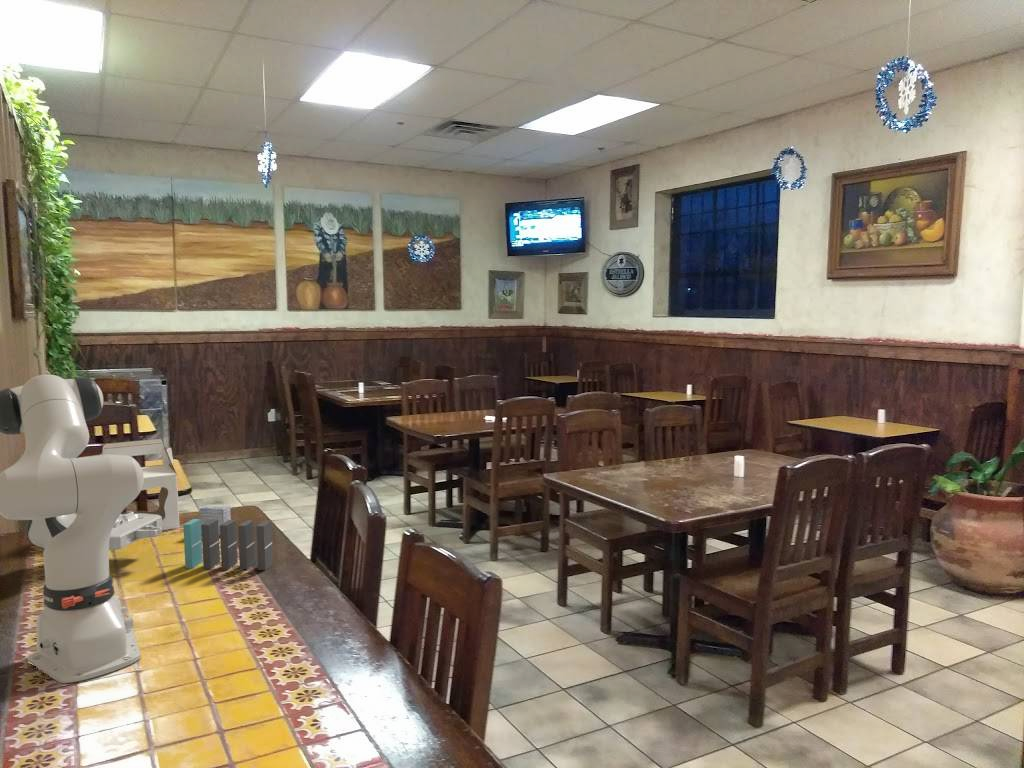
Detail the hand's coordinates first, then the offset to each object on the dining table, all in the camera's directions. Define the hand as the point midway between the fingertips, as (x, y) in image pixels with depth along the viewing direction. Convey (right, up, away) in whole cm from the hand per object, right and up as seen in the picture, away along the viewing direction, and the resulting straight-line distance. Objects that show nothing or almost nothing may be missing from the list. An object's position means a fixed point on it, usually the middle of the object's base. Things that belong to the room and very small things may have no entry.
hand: (158, 532), depth 192 cm
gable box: (-23, -6, +33) cm, 40 cm away
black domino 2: (+19, -9, -1) cm, 21 cm away
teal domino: (+9, -9, 0) cm, 13 cm away
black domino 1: (+14, -9, 0) cm, 17 cm away
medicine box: (+4, -6, +27) cm, 28 cm away
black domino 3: (+24, -9, -1) cm, 26 cm away
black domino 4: (+29, -9, -2) cm, 31 cm away
